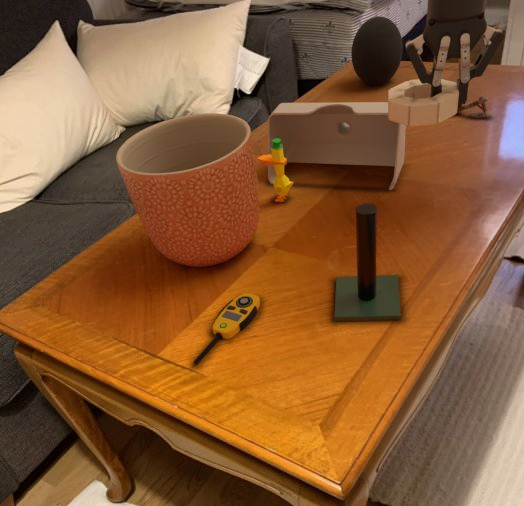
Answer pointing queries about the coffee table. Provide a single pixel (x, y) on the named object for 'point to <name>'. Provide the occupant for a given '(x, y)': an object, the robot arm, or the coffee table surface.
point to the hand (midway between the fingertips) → (447, 107)
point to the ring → (422, 103)
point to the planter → (194, 186)
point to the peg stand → (367, 278)
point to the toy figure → (278, 169)
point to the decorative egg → (377, 51)
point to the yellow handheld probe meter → (233, 319)
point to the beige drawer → (337, 135)
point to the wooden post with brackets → (480, 101)
